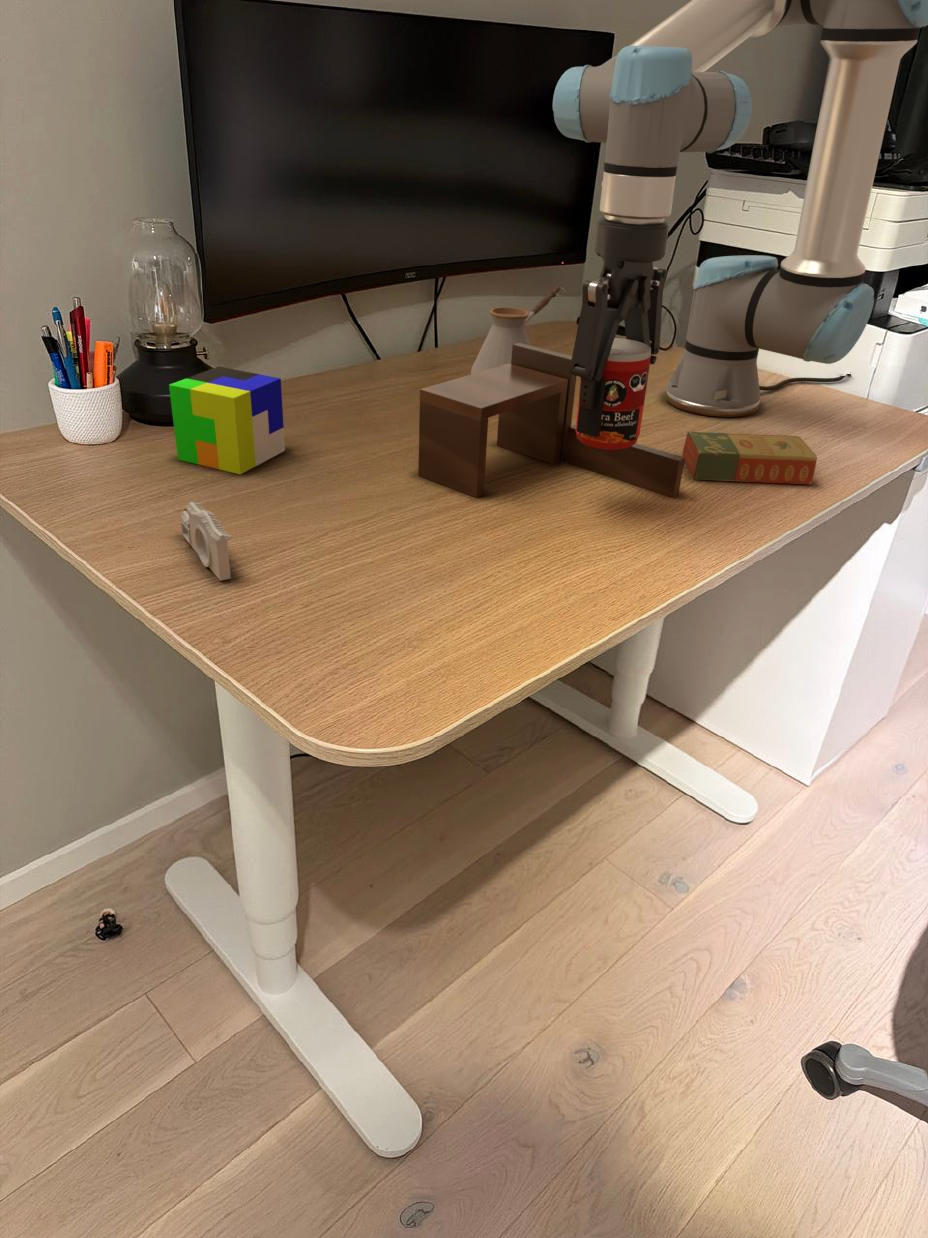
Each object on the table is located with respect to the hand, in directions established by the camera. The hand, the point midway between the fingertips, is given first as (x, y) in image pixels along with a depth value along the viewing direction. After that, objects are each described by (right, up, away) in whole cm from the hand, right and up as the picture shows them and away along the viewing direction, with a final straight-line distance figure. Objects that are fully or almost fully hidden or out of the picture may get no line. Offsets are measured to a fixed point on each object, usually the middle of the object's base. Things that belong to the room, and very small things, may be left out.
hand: (608, 424), depth 108 cm
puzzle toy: (-48, -1, +14) cm, 50 cm away
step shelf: (-6, -6, +10) cm, 13 cm away
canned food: (0, -2, +1) cm, 2 cm away
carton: (+22, -3, +18) cm, 28 cm away
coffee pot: (-7, +17, +48) cm, 52 cm away
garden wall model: (-45, -17, -11) cm, 49 cm away
